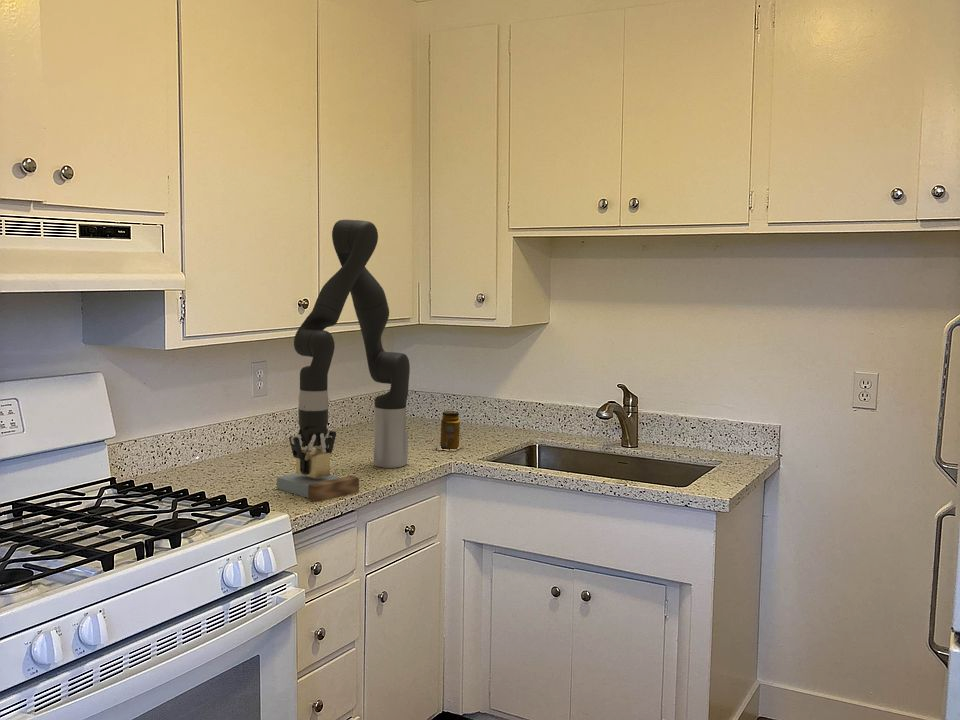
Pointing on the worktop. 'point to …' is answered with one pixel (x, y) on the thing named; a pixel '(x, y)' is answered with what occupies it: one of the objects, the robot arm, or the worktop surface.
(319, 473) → the block
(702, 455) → the worktop surface
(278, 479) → the flat grey square tile
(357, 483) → the block
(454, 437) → the condiment
